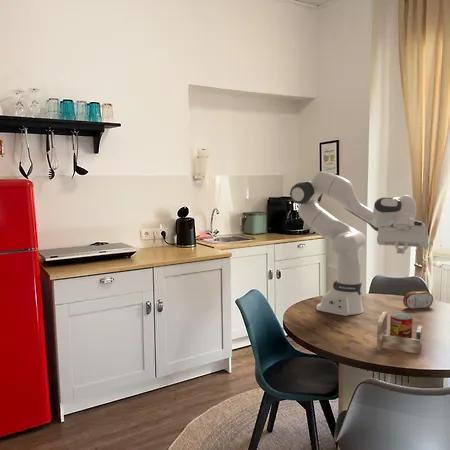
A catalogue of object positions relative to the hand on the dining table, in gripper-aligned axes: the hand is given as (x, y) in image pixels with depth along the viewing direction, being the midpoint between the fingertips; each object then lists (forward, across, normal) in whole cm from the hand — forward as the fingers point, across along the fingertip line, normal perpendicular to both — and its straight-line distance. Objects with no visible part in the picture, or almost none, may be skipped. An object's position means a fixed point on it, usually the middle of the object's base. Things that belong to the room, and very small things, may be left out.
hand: (400, 252), depth 183 cm
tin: (-2, +5, +50) cm, 50 cm away
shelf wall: (+37, +3, +10) cm, 39 cm away
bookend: (+35, +9, +13) cm, 38 cm away
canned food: (+36, +3, +11) cm, 38 cm away
